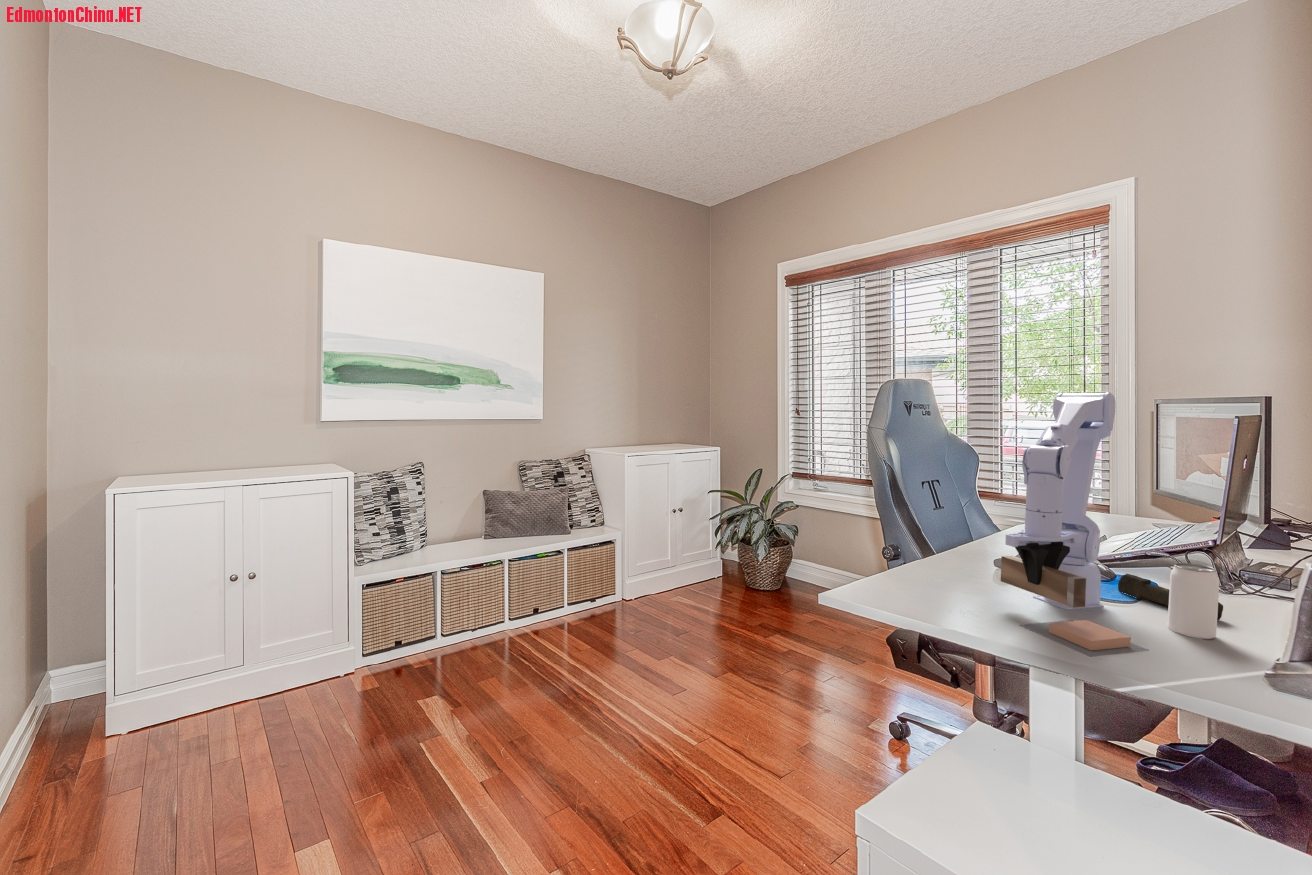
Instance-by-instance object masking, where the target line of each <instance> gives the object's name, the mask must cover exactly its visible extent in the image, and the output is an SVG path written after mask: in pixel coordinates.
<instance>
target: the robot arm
mask: <svg viewBox="0 0 1312 875" xmlns="http://www.w3.org/2000/svg"><path fill="white" fill-rule="evenodd" d="M1052 414H1053V418H1054V420H1055V423H1051V424H1049V425H1048V426H1047V427H1045V429H1044V431H1042V434H1041V436H1040V437H1039V438H1038V440H1037V442H1036V443H1035V444H1034V445H1033V444H1032V445H1030V447H1026V448H1025V449H1024V451H1023V454H1022V460H1021V461H1022V462H1021V463H1022V465H1021V466H1022V471H1023V482H1024V485H1026V490H1025V494H1026V495H1025V513H1024V514H1025V515H1024V517H1025V518H1024V529H1021V531H1019V532H1015V533H1008V534H1005V540H1004V541H1005V545H1006V546H1008V547H1011V548H1015V550H1016V552H1017V553H1018V555H1019V558H1021V559H1022V562H1023V565H1024V568H1025V571H1026V576H1027V580H1028V582H1030V583H1033V584H1036V585H1040V582H1041V577H1042V568H1043V565H1044V566H1047V567H1051V568H1054V569H1057V570H1061V571H1064V572H1067V573H1070V574H1074V575H1077V576H1081V577H1085V578H1086V597H1085V607H1078V608H1072V607H1069V606H1067V605H1065V604H1062V603H1059V602H1056V601H1054V600H1051V599H1048V598H1045V597H1043V596H1040V595H1037V594H1036V595H1033V597H1032V598H1034V599H1037V600H1039V601H1041V602H1044V603H1047V604H1050V605H1053V606H1055V607H1058V608H1061V609H1063V610H1066V611H1067V610H1077V609H1078V610H1079V609H1080V610H1081V609H1091V608H1102V607H1103V608H1104V606H1105V605H1104V604H1102V603H1101V585H1102V573H1101V571H1100V568H1099V567H1098V565H1097V563H1094V562H1095V561H1097V559H1098V557H1099V553H1100V546H1101V545H1100V535H1101V530H1100V527H1099V526H1098V524H1097V523H1096V521H1093V519H1092V518H1090V517H1088V516H1087V509H1088V503H1089V498H1090V492H1091V485H1092V481H1093V476H1094V475H1093V474H1094V469H1095V463H1096V457H1097V452H1098V448H1099V445H1100V442H1101V440H1103V439H1106V438H1108V437H1111V433H1112V431H1113V429H1114V427H1113V426H1114V423H1115V417H1116V416H1115V415H1116V398H1115V396H1114V394H1113V393H1112V392H1110V391H1107V392H1078V393H1077V392H1067V393H1065V392H1059V393H1058V394H1056V395H1055V397H1054V399H1053V403H1052Z"/></svg>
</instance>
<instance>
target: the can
mask: <svg viewBox="0 0 1312 875" xmlns="http://www.w3.org/2000/svg"><path fill="white" fill-rule="evenodd" d="M1173 566H1174V567H1173V569H1172V570H1171V571H1170V576H1169V577H1170V578H1169V606H1167V607H1168V608H1167V609H1168V610H1167V628H1168V630H1170V631H1172V632H1175V633H1177V634H1181V635H1184V636H1188V637H1193V638H1198V639H1200V640H1204V641H1205V640H1206V641H1207V640H1213V639H1214V638H1216V637H1217V628H1218V621H1217V614H1218V602H1219V598H1220V595H1219V593H1220V578H1219V576H1218V574H1217V569H1216V568H1213V567H1211V566H1207V565H1202V564H1197V563H1187V562H1176V563H1174V564H1173Z"/></svg>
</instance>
